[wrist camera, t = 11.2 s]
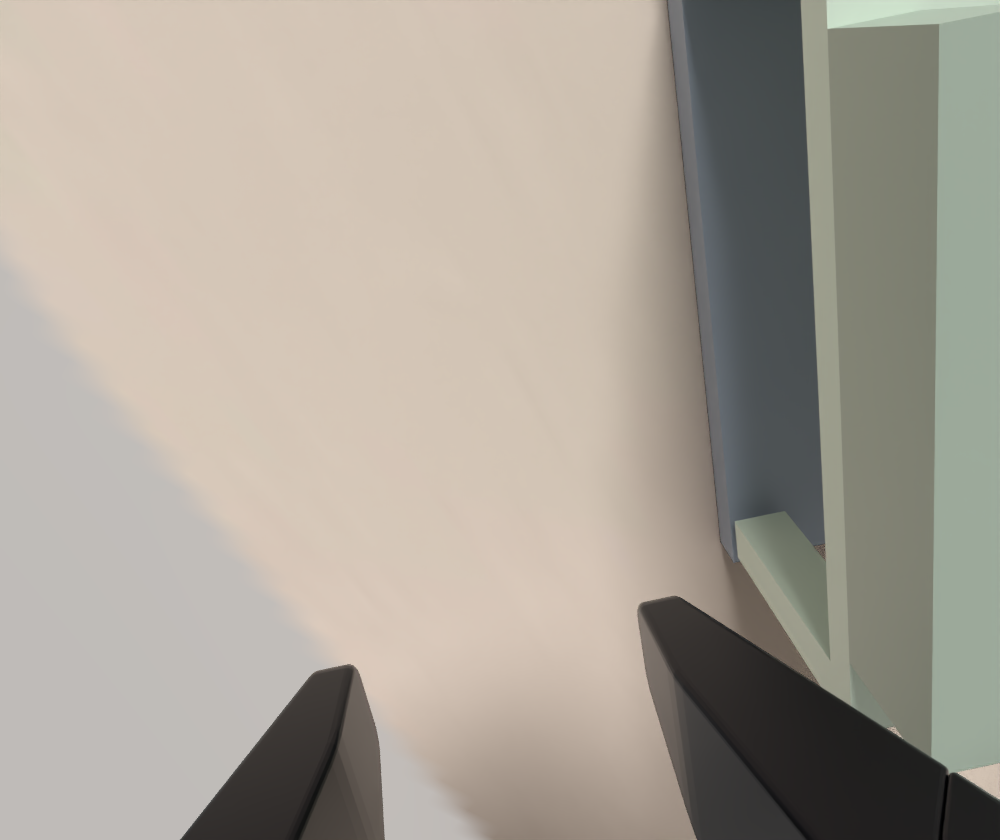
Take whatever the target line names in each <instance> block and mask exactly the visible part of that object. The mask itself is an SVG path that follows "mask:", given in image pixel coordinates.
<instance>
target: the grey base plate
mask: <svg viewBox="0 0 1000 840" xmlns="http://www.w3.org/2000/svg"><path fill="white" fill-rule="evenodd" d="M667 1H668V11H669V22H670V32H671V42H672V52H673V62H674V72H675V83H676V93H677V103H678V113H679V123H680V133H681V144H682V154H683V164H684V174H685V184H686V194H687V205H688V215H689V225H690V235H691V245H692V255H693V265H694V276H695V286H696V296H697V306H698V316H699V326H700V337H701V347H702V357H703V367H704V377H705V387H706V398H707V408H708V418H709V428H710V438H711V448H712V459H713V469H714V479H715V489H716V499H717V509H718V519H719V530H720V540H721V543H722V545H723V546H724V548H725V550H726V551H727V553H728V554H729V556H730V558H731V559H732V561H733V562H734V563H735V562H740V560H739V558H738V552H737V541H736V530H735V521H739V520H744V519H748V518H753V517H758V516H763V515H768V514H772V513H777V512H782V511H785V512H786V513H787V514H788V515H789V517H790V518H791V519H792V520H793V522H794V523H795V524H796V525H797V526H798V528H799V529H800V530H801V531H802V533H803V534H804V535H805V536H806V538H807V539H808V540H809V541H810V543H811V544H812V545H813V546H817V545H821V544H825V530H824V508H823V485H822V463H821V441H820V419H819V396H818V374H817V352H816V330H815V307H814V285H813V263H812V241H811V219H810V196H809V174H808V152H807V130H806V107H805V85H804V63H803V41H802V18H801V0H667Z"/></svg>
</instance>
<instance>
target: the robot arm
mask: <svg viewBox="0 0 1000 840" xmlns="http://www.w3.org/2000/svg"><path fill="white" fill-rule="evenodd" d="M637 613H638V622H639V629H640V636H641V643H642V649H643V656H644V663H645V669H646V675H647V680H648V684H649V688H650V692H651V695H652V699H653V702H654V705H655V708H656V712H657V715H658V718H659V721H660V725H661V728H662V731H663V735H664V738H665V741H666V744H667V748H668V751H669V754H670V758H671V761H672V764H673V767H674V771H675V774H676V777H677V780H678V784H679V787H680V790H681V794H682V797H683V800H684V803H685V807H686V810H687V813H688V815H689V818H690V821H691V824H692V827H693V830H694V833H695V835H696V838H697V840H1000V800H999V799H997V798H996V797H994V796H992V795H991V794H989V793H988V792H986V791H985V790H983V789H981V788H980V787H978V786H977V785H975V784H974V783H972V782H970V781H969V780H967V779H966V778H964V777H963V776H961V775H959V774H958V773H955V772H952V773H950V774H949V770H948V768H947V767H946V766H945V765H943V764H942V763H940V762H938V761H937V760H935V759H934V758H932V757H931V756H929V755H927V754H926V753H924V752H923V751H921V750H920V749H918V748H916V747H915V746H913V745H912V744H910V743H909V742H907V741H905V740H904V739H902V738H901V737H899V736H898V735H896V734H894V733H893V732H891V731H890V730H888V729H887V728H885V727H883V726H882V725H880V724H879V723H877V722H876V721H874V720H872V719H871V718H869V717H868V716H866V715H865V714H863V713H861V712H860V711H858V710H857V709H855V708H854V707H852V706H850V705H849V704H847V703H846V702H844V701H843V700H841V699H839V698H838V697H836V696H835V695H833V694H831V693H830V692H828V691H827V690H825V689H824V688H822V687H820V686H819V685H817V684H816V683H814V682H813V681H811V680H809V679H808V678H806V677H805V676H803V675H802V674H800V673H798V672H797V671H795V670H794V669H792V668H791V667H789V666H787V665H786V664H784V663H783V662H781V661H780V660H778V659H776V658H775V657H773V656H772V655H770V654H769V653H767V652H765V651H764V650H762V649H761V648H759V647H758V646H756V645H754V644H753V643H751V642H750V641H748V640H747V639H745V638H743V637H742V636H740V635H739V634H737V633H736V632H734V631H732V630H731V629H729V628H728V627H726V626H725V625H723V624H721V623H720V622H718V621H717V620H715V619H714V618H712V617H710V616H709V615H707V614H706V613H704V612H703V611H701V610H699V609H698V608H696V607H695V606H693V605H692V604H690V603H688V602H687V601H685V600H684V599H682V598H680V597H677V596H670V597H666V598H661V599H656V600H652V601H647V602H643V603H641V604H640V605H639V607H638V610H637ZM180 840H385V839H384V822H383V801H382V783H381V764H380V748H379V740H378V735H377V730H376V726H375V723H374V719H373V716H372V713H371V710H370V706H369V703H368V700H367V697H366V693H365V690H364V687H363V683H362V680H361V677H360V674H359V672H358V670H357V669H356V668H355V667H354V666H353V665H351V664H347V665H343V666H338V667H333V668H328V669H324V670H319V671H316V672H314V673H313V674H312V675H311V676H310V677H309V678H308V680H307V681H306V682H305V683H304V685H303V686H302V687H301V688H300V689H299V691H298V692H297V693H296V695H295V696H294V697H293V698H292V700H291V701H290V702H289V703H288V705H287V706H286V707H285V708H284V710H283V711H282V712H281V713H280V715H279V716H278V717H277V719H276V720H275V721H274V722H273V724H272V725H271V726H270V727H269V729H268V730H267V731H266V732H265V734H264V735H263V736H262V737H261V739H260V740H259V741H258V742H257V744H256V745H255V746H254V748H253V749H252V750H251V751H250V753H249V754H248V755H247V756H246V758H245V759H244V760H243V761H242V763H241V764H240V765H239V766H238V768H237V769H236V770H235V771H234V773H233V774H232V775H231V776H230V778H229V779H228V781H227V782H226V783H225V784H224V785H223V787H222V788H221V789H220V790H219V792H218V793H217V794H216V795H215V797H214V798H213V799H212V800H211V802H210V803H209V804H208V805H207V807H206V808H205V809H204V810H203V812H202V813H201V814H200V816H199V817H198V818H197V819H196V821H195V822H194V823H193V824H192V826H191V827H190V828H189V829H188V831H187V832H186V833H185V834H184V836H183V837H182V838H181V839H180Z"/></svg>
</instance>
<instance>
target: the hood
mask: <svg viewBox="0 0 1000 840" xmlns="http://www.w3.org/2000/svg"><path fill="white" fill-rule="evenodd" d="M801 18H802V41H803V63H804V85H805V107H806V130H807V152H808V174H809V196H810V219H811V241H812V263H813V285H814V307H815V330H816V352H817V374H818V396H819V419H820V441H821V463H822V485H823V508H824V530H825V552H826V561H825V560H824V559H823V557H822V556H821V555H820V554H819V553H818V551H817V550H816V549H815V548H814V546H813V545H812V544H811V543H810V541H809V540H808V539H807V538H806V536H805V535H804V534H803V533H802V531H801V530H800V529H799V528H798V526H797V525H796V524H795V523H794V522H793V520H792V519H791V518H790V517H789V515H788V514H787V513H786V512H785V511H782V512H777V513H772V514H768V515H763V516H758V517H753V518H748V519H744V520H739V521H735V530H736V541H737V552H738V558H739V560H740V561H741V563H742V565H743V566H744V568H745V569H746V571H747V572H748V574H749V575H750V577H751V579H752V580H753V582H754V583H755V585H756V586H757V588H758V589H759V591H760V593H761V594H762V596H763V597H764V599H765V600H766V602H767V604H768V605H769V607H770V608H771V610H772V611H773V613H774V614H775V616H776V618H777V619H778V621H779V622H780V624H781V625H782V627H783V628H784V630H785V632H786V633H787V635H788V636H789V638H790V639H791V641H792V642H793V644H794V646H795V647H796V649H797V650H798V652H799V653H800V655H801V657H802V658H803V660H804V661H805V663H806V664H807V666H808V667H809V669H810V671H811V672H812V674H813V675H814V677H815V678H816V680H817V681H818V683H819V685H820V686H821V687H822V688H824V689H825V690H827V691H828V692H830V693H831V694H833V695H835V696H836V697H838V698H839V699H841V700H843V701H844V702H846V703H847V704H849V705H850V706H852V707H854V708H855V709H857V710H858V711H860V712H861V713H863V714H865V715H866V716H868V717H869V718H871V719H872V720H874V721H876V722H877V723H879V724H880V725H882V726H883V727H885V728H888V727H893V726H895V727H896V729H897V730H898V732H899V733H900V734H901V736H902V737H903V739H904V740H905V741H907V742H909V743H910V744H912V745H913V746H915V747H916V748H918V749H920V750H921V751H923V752H924V753H926V754H927V755H929V756H931V757H932V758H934V759H935V760H937V761H938V762H940V763H942V764H943V765H945V766H946V767H947V768H948V770H949V774H950V773H952V772H960V771H964V770H969V769H974V768H978V767H983V766H988V765H993V764H997V763H1000V0H801Z"/></svg>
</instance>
